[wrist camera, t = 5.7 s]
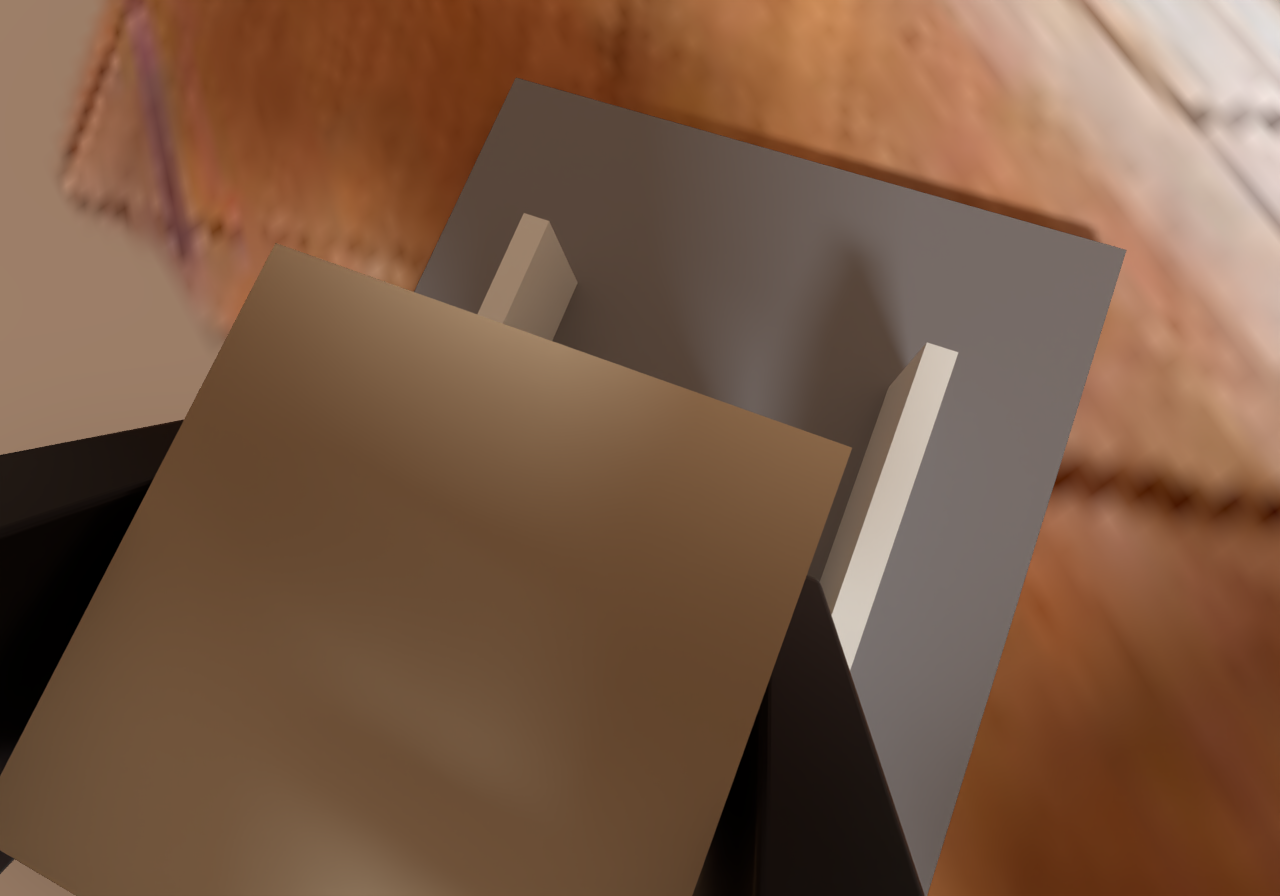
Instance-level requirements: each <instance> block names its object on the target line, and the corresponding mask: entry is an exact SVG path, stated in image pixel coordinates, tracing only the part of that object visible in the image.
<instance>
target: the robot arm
mask: <svg viewBox="0 0 1280 896" xmlns="http://www.w3.org/2000/svg"><path fill="white" fill-rule="evenodd" d="M183 421H184V420H179V421H174V422H169V423H164V424H159V425H154V426H148V427H143V428H138V429H133V430H127V431H122V432H117V433H113V434H107V435H102V436H97V437H92V438H86V439H81V440H76V441H71V442H65V443H60V444H55V445H50V446H45V447H39V448H35V449H29V450H24V451H19V452H14V453H8V454H3V455H0V775H1V773H2V772H3V770H4V768H5V766H6V764H7V762H8V760H9V758H10V756H11V754H12V752H13V750H14V748H15V746H16V744H17V743H18V741H19V739H20V737H21V735H22V733H23V731H24V729H25V727H26V725H27V723H28V721H29V719H30V717H31V715H32V713H33V712H34V710H35V708H36V706H37V704H38V702H39V700H40V698H41V696H42V694H43V692H44V690H45V688H46V686H47V684H48V682H49V681H50V679H51V677H52V675H53V673H54V671H55V669H56V667H57V665H58V663H59V661H60V659H61V657H62V655H63V653H64V652H65V650H66V648H67V646H68V644H69V642H70V640H71V638H72V636H73V634H74V632H75V630H76V628H77V626H78V624H79V622H80V621H81V619H82V617H83V615H84V613H85V611H86V609H87V607H88V605H89V603H90V601H91V599H92V597H93V595H94V593H95V591H96V590H97V588H98V586H99V584H100V582H101V580H102V578H103V576H104V574H105V572H106V570H107V568H108V566H109V564H110V562H111V560H112V559H113V557H114V555H115V553H116V551H117V549H118V547H119V545H120V543H121V541H122V539H123V537H124V535H125V533H126V531H127V530H128V528H129V526H130V524H131V522H132V520H133V518H134V516H135V514H136V512H137V510H138V508H139V506H140V504H141V502H142V500H143V499H144V497H145V495H146V493H147V491H148V489H149V487H150V485H151V483H152V481H153V479H154V477H155V475H156V473H157V471H158V469H159V468H160V466H161V464H162V462H163V460H164V458H165V456H166V454H167V452H168V450H169V448H170V446H171V444H172V442H173V440H174V439H175V437H176V435H177V433H178V431H179V429H180V427H181V425H182V423H183ZM13 860H14V858H12V857H10V856H9V855H7V854H5V853H4V852H2V851H0V874H1V872H3V870H4V869H5V868H6V867H7V866H8V865H9V864H10V863H11V862H12V861H13ZM692 896H925V895H924V892H923V889H922V886H921V883H920V880H919V877H918V874H917V871H916V868H915V865H914V862H913V859H912V856H911V853H910V850H909V847H908V844H907V841H906V838H905V835H904V832H903V829H902V826H901V823H900V820H899V817H898V814H897V811H896V808H895V805H894V802H893V799H892V796H891V793H890V790H889V787H888V784H887V781H886V778H885V775H884V772H883V769H882V766H881V763H880V760H879V757H878V754H877V751H876V748H875V745H874V742H873V739H872V736H871V733H870V730H869V727H868V724H867V721H866V718H865V715H864V712H863V709H862V706H861V703H860V700H859V697H858V694H857V691H856V688H855V685H854V682H853V679H852V676H851V673H850V670H849V667H848V664H847V661H846V658H845V655H844V652H843V649H842V646H841V643H840V640H839V637H838V634H837V631H836V627H835V624H834V621H833V618H832V615H831V612H830V609H829V606H828V603H827V600H826V597H825V594H824V591H823V588H822V586H821V583H820V582H819V580H818V579H816V578H815V577H812V576H810V575H807V576H806V579H805V581H804V584H803V587H802V590H801V593H800V595H799V598H798V601H797V604H796V607H795V609H794V612H793V615H792V618H791V621H790V623H789V626H788V629H787V632H786V635H785V637H784V640H783V643H782V646H781V649H780V651H779V654H778V657H777V660H776V663H775V665H774V668H773V671H772V674H771V676H770V679H769V682H768V685H767V688H766V690H765V693H764V696H763V699H762V702H761V704H760V707H759V710H758V713H757V716H756V718H755V721H754V724H753V727H752V730H751V732H750V735H749V738H748V741H747V744H746V746H745V749H744V752H743V755H742V758H741V760H740V763H739V766H738V769H737V772H736V774H735V777H734V780H733V783H732V786H731V788H730V791H729V794H728V797H727V800H726V802H725V805H724V808H723V811H722V814H721V816H720V819H719V822H718V825H717V828H716V830H715V833H714V836H713V839H712V841H711V844H710V847H709V850H708V853H707V855H706V858H705V861H704V864H703V867H702V869H701V872H700V875H699V878H698V881H697V883H696V886H695V889H694V892H693V895H692Z"/></svg>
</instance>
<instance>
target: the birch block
mask: <svg viewBox="0 0 1280 896" xmlns="http://www.w3.org/2000/svg"><path fill="white" fill-rule="evenodd" d="M851 450H852V447H849V446H846V445H843V444H840V443H837V442H835V441H832V440H829V439H826V438H823V437H821V436H818V435H815V434H812V433H809V432H806V431H804V430H801V429H798V428H795V427H792V426H790V425H787V424H784V423H781V422H778V421H776V420H773V419H770V418H767V417H764V416H761V415H759V414H756V413H753V412H750V411H747V410H745V409H742V408H739V407H736V406H733V405H730V404H728V403H725V402H722V401H719V400H716V399H714V398H711V397H708V396H705V395H702V394H700V393H697V392H694V391H691V390H688V389H685V388H683V387H680V386H677V385H674V384H671V383H669V382H666V381H663V380H660V379H657V378H654V377H652V376H649V375H646V374H643V373H640V372H638V371H635V370H632V369H629V368H626V367H623V366H621V365H618V364H615V363H612V362H609V361H607V360H604V359H601V358H598V357H595V356H593V355H590V354H587V353H584V352H581V351H578V350H576V349H573V348H570V347H567V346H564V345H562V344H559V343H556V342H553V341H550V340H547V339H545V338H542V337H539V336H536V335H533V334H531V333H528V332H525V331H522V330H519V329H517V328H514V327H511V326H508V325H505V324H502V323H500V322H497V321H494V320H491V319H488V318H486V317H483V316H480V315H477V314H474V313H471V312H469V311H466V310H463V309H460V308H457V307H455V306H452V305H449V304H446V303H443V302H441V301H438V300H435V299H432V298H429V297H426V296H424V295H421V294H418V293H415V292H412V291H410V290H407V289H404V288H401V287H398V286H395V285H393V284H390V283H387V282H384V281H381V280H379V279H376V278H373V277H370V276H367V275H365V274H362V273H359V272H356V271H353V270H350V269H348V268H345V267H342V266H339V265H336V264H334V263H331V262H328V261H325V260H322V259H319V258H317V257H314V256H311V255H308V254H305V253H303V252H300V251H297V250H294V249H291V248H289V247H286V246H283V245H280V244H277V243H275V245H274V247H273V249H272V251H271V253H270V255H269V256H268V258H267V260H266V262H265V264H264V266H263V268H262V270H261V272H260V274H259V276H258V278H257V280H256V282H255V284H254V286H253V287H252V289H251V291H250V293H249V295H248V297H247V299H246V301H245V303H244V305H243V307H242V309H241V311H240V313H239V315H238V317H237V318H236V320H235V322H234V324H233V326H232V328H231V330H230V332H229V334H228V336H227V338H226V340H225V342H224V344H223V346H222V347H221V349H220V351H219V353H218V355H217V357H216V359H215V361H214V363H213V365H212V367H211V369H210V371H209V373H208V375H207V377H206V379H205V380H204V382H203V384H202V387H201V388H200V390H199V392H198V394H197V396H196V398H195V400H194V402H193V404H192V406H191V408H190V409H189V412H188V413H187V415H186V417H185V419H184V421H183V423H182V425H181V427H180V429H179V431H178V433H177V435H176V437H175V439H174V440H173V442H172V444H171V446H170V448H169V450H168V452H167V454H166V456H165V458H164V460H163V462H162V464H161V466H160V468H159V469H158V471H157V473H156V475H155V477H154V479H153V481H152V483H151V485H150V487H149V489H148V491H147V493H146V495H145V497H144V499H143V500H142V502H141V504H140V506H139V508H138V510H137V512H136V514H135V516H134V518H133V520H132V522H131V524H130V526H129V528H128V530H127V531H126V533H125V535H124V537H123V539H122V541H121V543H120V545H119V547H118V549H117V551H116V553H115V555H114V557H113V559H112V560H111V562H110V564H109V566H108V568H107V570H106V572H105V574H104V576H103V578H102V580H101V582H100V584H99V586H98V588H97V590H96V591H95V593H94V595H93V597H92V599H91V601H90V603H89V605H88V607H87V609H86V611H85V613H84V615H83V617H82V619H81V621H80V622H79V624H78V626H77V628H76V630H75V632H74V634H73V636H72V638H71V640H70V642H69V644H68V646H67V648H66V650H65V652H64V653H63V655H62V657H61V659H60V661H59V663H58V665H57V667H56V669H55V671H54V673H53V675H52V677H51V679H50V681H49V682H48V684H47V686H46V688H45V690H44V692H43V694H42V696H41V698H40V700H39V702H38V704H37V706H36V708H35V710H34V712H33V713H32V715H31V717H30V719H29V721H28V723H27V725H26V727H25V729H24V731H23V733H22V735H21V737H20V739H19V741H18V743H17V744H16V746H15V748H14V750H13V752H12V754H11V756H10V758H9V760H8V762H7V764H6V766H5V768H4V770H3V772H2V773H1V775H0V851H2V852H4V853H5V854H7V855H9V856H10V857H12V858H14V859H15V860H17V861H19V862H20V863H22V864H24V865H26V866H27V867H29V868H31V869H32V870H34V871H36V872H37V873H39V874H41V875H42V876H44V877H46V878H47V879H49V880H51V881H52V882H54V883H56V884H57V885H59V886H61V887H62V888H64V889H66V890H68V891H69V892H71V893H73V894H74V895H76V896H692V895H693V892H694V889H695V886H696V883H697V881H698V878H699V875H700V872H701V869H702V867H703V864H704V861H705V858H706V855H707V853H708V850H709V847H710V844H711V841H712V839H713V836H714V833H715V830H716V828H717V825H718V822H719V819H720V816H721V814H722V811H723V808H724V805H725V802H726V800H727V797H728V794H729V791H730V788H731V786H732V783H733V780H734V777H735V774H736V772H737V769H738V766H739V763H740V760H741V758H742V755H743V752H744V749H745V746H746V744H747V741H748V738H749V735H750V732H751V730H752V727H753V724H754V721H755V718H756V716H757V713H758V710H759V707H760V704H761V702H762V699H763V696H764V693H765V690H766V688H767V685H768V682H769V679H770V676H771V674H772V671H773V668H774V665H775V663H776V660H777V657H778V654H779V651H780V649H781V646H782V643H783V640H784V637H785V635H786V632H787V629H788V626H789V623H790V621H791V618H792V615H793V612H794V609H795V607H796V604H797V601H798V598H799V595H800V593H801V590H802V587H803V584H804V581H805V579H806V576H807V573H808V570H809V567H810V565H811V562H812V559H813V556H814V553H815V551H816V548H817V545H818V542H819V539H820V537H821V534H822V531H823V528H824V525H825V523H826V520H827V517H828V514H829V511H830V509H831V506H832V503H833V500H834V497H835V495H836V492H837V489H838V486H839V483H840V481H841V478H842V475H843V472H844V470H845V467H846V464H847V461H848V458H849V456H850V453H851Z"/></svg>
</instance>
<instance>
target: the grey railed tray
mask: <svg viewBox="0 0 1280 896" xmlns="http://www.w3.org/2000/svg"><path fill="white" fill-rule="evenodd" d="M1125 253H1126V250H1125V249H1121V248H1118V247H1114V246H1110V245H1107V244H1103V243H1100V242H1096V241H1093V240H1089V239H1086V238H1082V237H1079V236H1075V235H1072V234H1068V233H1064V232H1061V231H1057V230H1054V229H1050V228H1047V227H1043V226H1040V225H1036V224H1033V223H1029V222H1025V221H1022V220H1018V219H1015V218H1011V217H1008V216H1004V215H1001V214H997V213H994V212H990V211H987V210H983V209H979V208H976V207H972V206H969V205H965V204H962V203H958V202H955V201H951V200H948V199H944V198H941V197H937V196H933V195H930V194H926V193H923V192H919V191H916V190H912V189H909V188H905V187H902V186H898V185H894V184H891V183H887V182H884V181H880V180H877V179H873V178H870V177H866V176H863V175H859V174H856V173H852V172H848V171H845V170H841V169H838V168H834V167H831V166H827V165H824V164H820V163H817V162H813V161H810V160H806V159H802V158H799V157H795V156H792V155H788V154H785V153H781V152H778V151H774V150H771V149H767V148H764V147H760V146H756V145H753V144H749V143H746V142H742V141H739V140H735V139H732V138H728V137H725V136H721V135H717V134H714V133H710V132H707V131H703V130H700V129H696V128H693V127H689V126H686V125H682V124H679V123H675V122H671V121H668V120H664V119H661V118H657V117H654V116H650V115H647V114H643V113H640V112H636V111H633V110H629V109H625V108H622V107H618V106H615V105H611V104H608V103H604V102H601V101H597V100H594V99H590V98H587V97H583V96H579V95H576V94H572V93H569V92H565V91H562V90H558V89H555V88H551V87H548V86H544V85H540V84H537V83H533V82H530V81H526V80H523V79H519V78H515V80H514V83H513V85H512V87H511V89H510V91H509V93H508V95H507V97H506V99H505V102H504V104H503V106H502V108H501V110H500V112H499V114H498V116H497V118H496V121H495V123H494V125H493V127H492V129H491V131H490V133H489V135H488V137H487V139H486V142H485V144H484V146H483V148H482V150H481V152H480V154H479V156H478V158H477V161H476V163H475V165H474V167H473V169H472V171H471V173H470V175H469V177H468V179H467V182H466V184H465V186H464V188H463V190H462V192H461V194H460V196H459V198H458V201H457V203H456V205H455V207H454V209H453V211H452V213H451V215H450V217H449V220H448V222H447V224H446V226H445V228H444V230H443V232H442V234H441V236H440V238H439V241H438V243H437V245H436V247H435V249H434V251H433V253H432V255H431V257H430V260H429V262H428V264H427V266H426V268H425V270H424V272H423V274H422V276H421V278H420V281H419V283H418V285H417V287H416V289H415V291H414V292H415V293H418V294H421V295H424V296H426V297H429V298H432V299H435V300H438V301H441V302H443V303H446V304H449V305H452V306H455V307H457V308H460V309H463V310H466V311H469V312H471V313H474V314H477V315H480V316H483V317H486V318H488V319H491V320H494V321H497V322H500V323H502V324H505V325H508V326H511V327H514V328H517V329H519V330H522V331H525V332H528V333H531V334H533V335H536V336H539V337H542V338H545V339H547V340H550V341H553V342H556V343H559V344H562V345H564V346H567V347H570V348H573V349H576V350H578V351H581V352H584V353H587V354H590V355H593V356H595V357H598V358H601V359H604V360H607V361H609V362H612V363H615V364H618V365H621V366H623V367H626V368H629V369H632V370H635V371H638V372H640V373H643V374H646V375H649V376H652V377H654V378H657V379H660V380H663V381H666V382H669V383H671V384H674V385H677V386H680V387H683V388H685V389H688V390H691V391H694V392H697V393H700V394H702V395H705V396H708V397H711V398H714V399H716V400H719V401H722V402H725V403H728V404H730V405H733V406H736V407H739V408H742V409H745V410H747V411H750V412H753V413H756V414H759V415H761V416H764V417H767V418H770V419H773V420H776V421H778V422H781V423H784V424H787V425H790V426H792V427H795V428H798V429H801V430H804V431H806V432H809V433H812V434H815V435H818V436H821V437H823V438H826V439H829V440H832V441H835V442H837V443H840V444H843V445H846V446H849V447H852V450H851V453H850V456H849V458H848V461H847V464H846V467H845V470H844V472H843V475H842V478H841V481H840V483H839V486H838V489H837V492H836V495H835V497H834V500H833V503H832V506H831V509H830V511H829V514H828V517H827V520H826V523H825V525H824V528H823V531H822V534H821V537H820V539H819V542H818V545H817V548H816V551H815V553H814V556H813V559H812V562H811V565H810V567H809V570H808V573H807V575H810V576H812V577H815V578H816V579H818V580H819V582H820V583H821V586H822V588H823V591H824V594H825V597H826V600H827V603H828V606H829V609H830V612H831V615H832V618H833V621H834V624H835V627H836V631H837V634H838V637H839V640H840V643H841V646H842V649H843V652H844V655H845V658H846V661H847V664H848V667H849V670H850V673H851V676H852V679H853V682H854V685H855V688H856V691H857V694H858V697H859V700H860V703H861V706H862V709H863V712H864V715H865V718H866V721H867V724H868V727H869V730H870V733H871V736H872V739H873V742H874V745H875V748H876V751H877V754H878V757H879V760H880V763H881V766H882V769H883V772H884V775H885V778H886V781H887V784H888V787H889V790H890V793H891V796H892V799H893V802H894V805H895V808H896V811H897V814H898V817H899V820H900V823H901V826H902V829H903V832H904V835H905V838H906V841H907V844H908V847H909V850H910V853H911V856H912V859H913V862H914V865H915V868H916V871H917V874H918V877H919V880H920V883H921V886H922V889H923V892H924V895H925V896H927V894H928V891H929V888H930V885H931V881H932V878H933V875H934V872H935V868H936V865H937V862H938V859H939V856H940V852H941V849H942V846H943V843H944V839H945V836H946V833H947V830H948V826H949V823H950V820H951V817H952V813H953V810H954V807H955V804H956V800H957V797H958V794H959V791H960V787H961V784H962V781H963V778H964V775H965V771H966V768H967V765H968V762H969V758H970V755H971V752H972V749H973V745H974V742H975V739H976V736H977V732H978V729H979V726H980V723H981V719H982V716H983V713H984V710H985V706H986V703H987V700H988V697H989V694H990V690H991V687H992V684H993V681H994V677H995V674H996V671H997V668H998V664H999V661H1000V658H1001V655H1002V651H1003V648H1004V645H1005V642H1006V638H1007V635H1008V632H1009V629H1010V625H1011V622H1012V619H1013V616H1014V613H1015V609H1016V606H1017V603H1018V600H1019V596H1020V593H1021V590H1022V587H1023V583H1024V580H1025V577H1026V574H1027V570H1028V567H1029V564H1030V561H1031V557H1032V554H1033V551H1034V548H1035V544H1036V541H1037V538H1038V535H1039V532H1040V528H1041V525H1042V522H1043V519H1044V515H1045V512H1046V509H1047V506H1048V502H1049V499H1050V496H1051V493H1052V489H1053V486H1054V483H1055V480H1056V476H1057V473H1058V470H1059V467H1060V463H1061V460H1062V457H1063V454H1064V451H1065V447H1066V444H1067V441H1068V438H1069V434H1070V431H1071V428H1072V425H1073V421H1074V418H1075V415H1076V412H1077V408H1078V405H1079V402H1080V399H1081V395H1082V392H1083V389H1084V386H1085V382H1086V379H1087V376H1088V373H1089V370H1090V366H1091V363H1092V360H1093V357H1094V353H1095V350H1096V347H1097V344H1098V340H1099V337H1100V334H1101V331H1102V327H1103V324H1104V321H1105V318H1106V314H1107V311H1108V308H1109V305H1110V301H1111V298H1112V295H1113V292H1114V289H1115V285H1116V282H1117V279H1118V276H1119V272H1120V269H1121V266H1122V263H1123V259H1124V256H1125Z"/></svg>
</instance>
